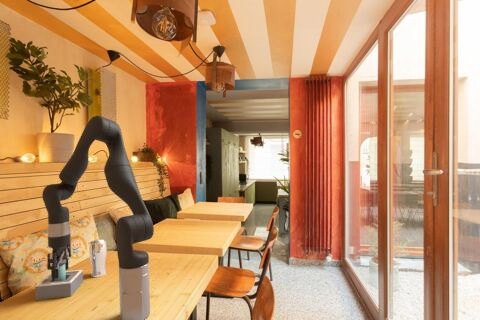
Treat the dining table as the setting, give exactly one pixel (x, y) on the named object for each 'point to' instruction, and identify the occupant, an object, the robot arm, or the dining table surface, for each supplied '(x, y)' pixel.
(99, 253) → the tumbler
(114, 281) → the dining table surface
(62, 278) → the plug
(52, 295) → the socket block
